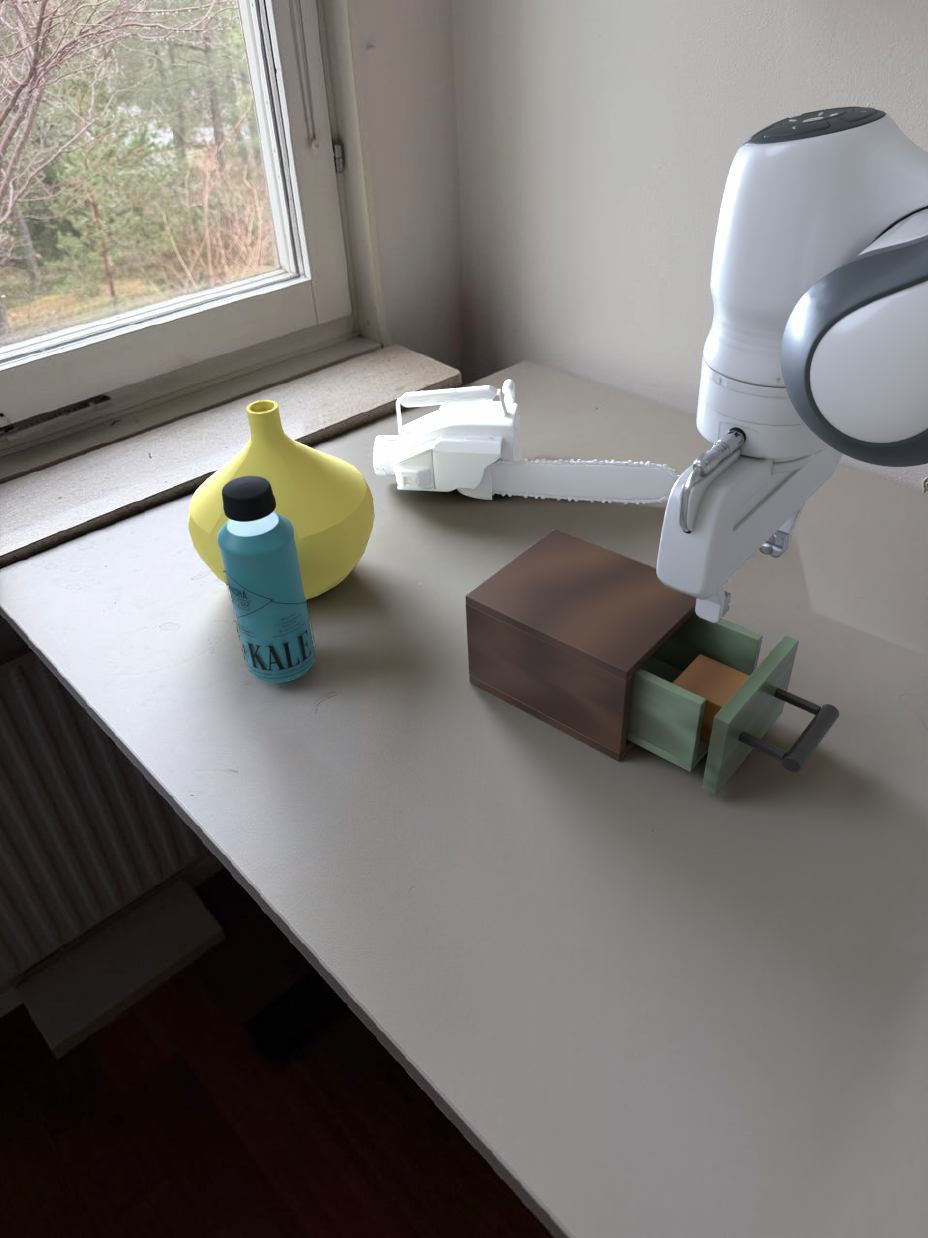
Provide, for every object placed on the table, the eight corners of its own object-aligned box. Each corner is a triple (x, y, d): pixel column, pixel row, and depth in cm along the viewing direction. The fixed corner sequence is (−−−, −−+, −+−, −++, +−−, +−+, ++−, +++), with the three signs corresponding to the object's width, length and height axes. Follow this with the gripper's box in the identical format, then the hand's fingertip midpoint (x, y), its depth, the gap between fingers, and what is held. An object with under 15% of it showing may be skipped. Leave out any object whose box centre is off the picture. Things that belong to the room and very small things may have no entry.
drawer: (839, 738, 76) (861, 665, 71) (775, 829, 69) (794, 755, 64) (632, 644, 86) (638, 575, 81) (558, 715, 79) (560, 644, 74)
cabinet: (697, 677, 83) (710, 589, 77) (618, 762, 76) (627, 672, 70) (552, 611, 92) (554, 527, 86) (469, 682, 84) (464, 595, 78)
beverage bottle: (279, 642, 90) (240, 456, 77) (335, 664, 87) (303, 475, 74) (233, 683, 85) (184, 493, 73) (290, 707, 83) (249, 514, 70)
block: (742, 716, 76) (751, 675, 74) (716, 748, 74) (723, 707, 71) (693, 693, 79) (699, 653, 76) (666, 723, 76) (671, 683, 73)
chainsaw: (677, 520, 103) (690, 416, 96) (369, 506, 108) (357, 407, 101) (674, 453, 115) (684, 356, 107) (395, 444, 120) (386, 350, 112)
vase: (240, 523, 107) (204, 363, 95) (397, 531, 104) (380, 367, 92) (178, 623, 93) (126, 450, 81) (358, 635, 90) (332, 458, 78)
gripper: (739, 486, 51) (712, 677, 59) (883, 357, 62) (844, 532, 71) (638, 455, 54) (627, 640, 62) (793, 338, 66) (766, 507, 74)
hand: (743, 581), depth 67 cm, fingers open, 8 cm apart
